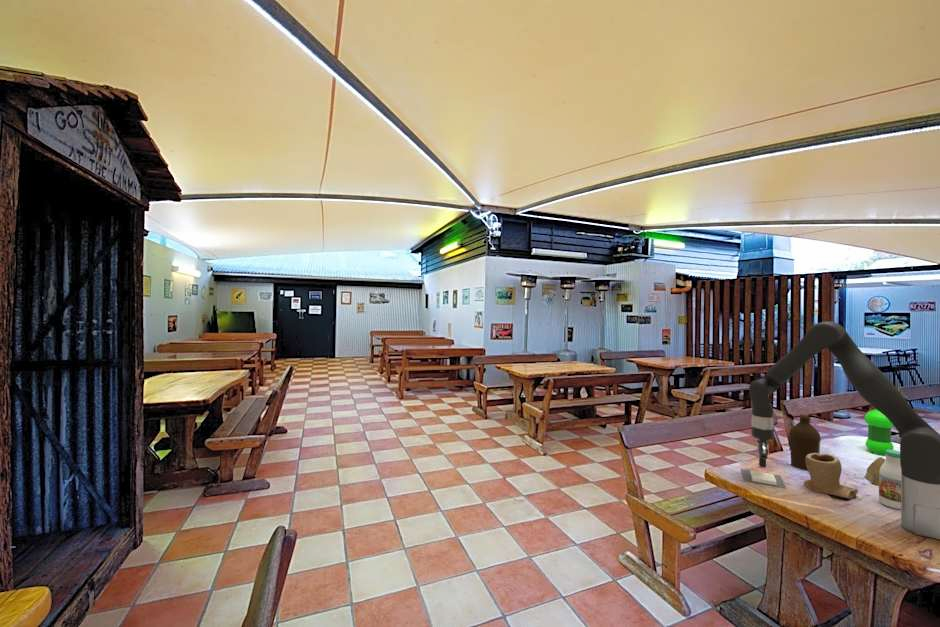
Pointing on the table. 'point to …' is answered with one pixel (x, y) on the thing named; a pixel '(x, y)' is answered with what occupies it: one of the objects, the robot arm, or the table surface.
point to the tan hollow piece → (826, 475)
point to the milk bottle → (890, 480)
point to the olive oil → (803, 441)
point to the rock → (874, 470)
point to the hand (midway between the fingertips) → (762, 466)
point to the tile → (763, 478)
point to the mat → (747, 478)
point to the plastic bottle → (878, 432)
